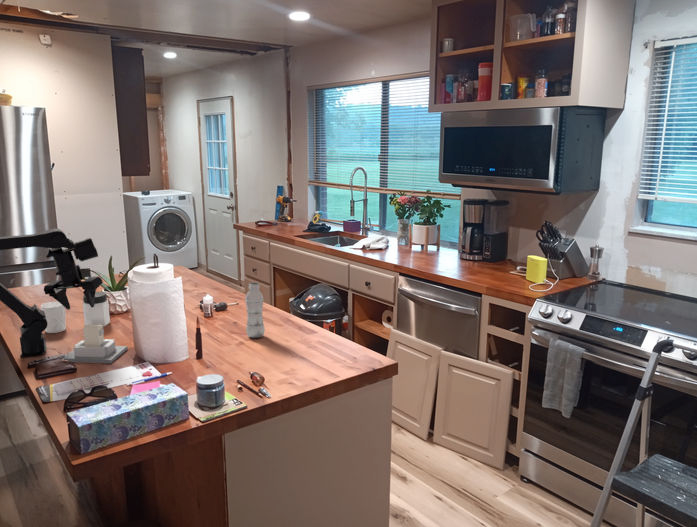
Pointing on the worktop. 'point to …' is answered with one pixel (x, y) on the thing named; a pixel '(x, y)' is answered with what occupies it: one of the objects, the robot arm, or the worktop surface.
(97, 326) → the cream rectangular block
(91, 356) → the hinge base
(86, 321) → the jar
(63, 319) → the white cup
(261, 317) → the plastic bottle
